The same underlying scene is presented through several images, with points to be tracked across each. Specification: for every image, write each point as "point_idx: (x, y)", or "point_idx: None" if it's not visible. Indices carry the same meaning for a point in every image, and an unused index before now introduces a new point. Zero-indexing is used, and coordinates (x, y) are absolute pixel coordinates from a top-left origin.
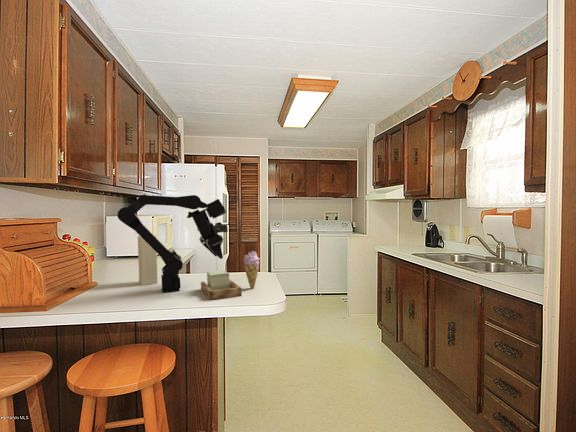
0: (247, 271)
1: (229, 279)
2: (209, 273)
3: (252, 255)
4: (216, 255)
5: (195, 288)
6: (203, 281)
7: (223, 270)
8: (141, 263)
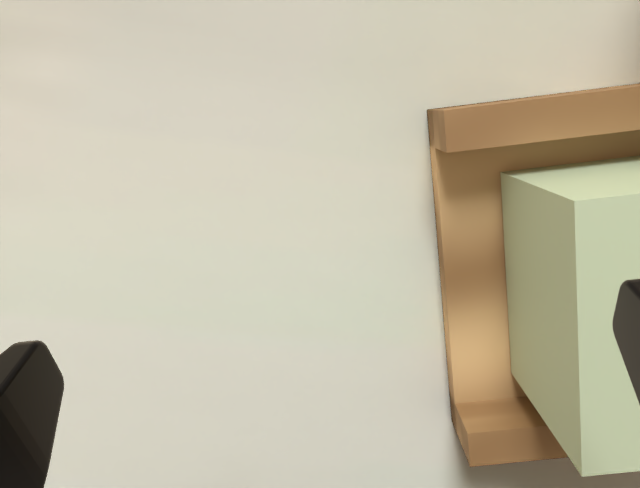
0: None
1: (511, 108)
2: None
3: None
4: (47, 371)
5: (387, 468)
6: (466, 438)
7: (600, 219)
8: None
